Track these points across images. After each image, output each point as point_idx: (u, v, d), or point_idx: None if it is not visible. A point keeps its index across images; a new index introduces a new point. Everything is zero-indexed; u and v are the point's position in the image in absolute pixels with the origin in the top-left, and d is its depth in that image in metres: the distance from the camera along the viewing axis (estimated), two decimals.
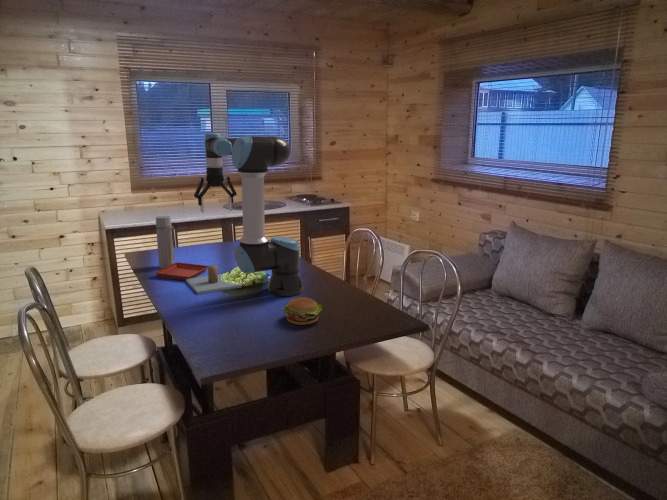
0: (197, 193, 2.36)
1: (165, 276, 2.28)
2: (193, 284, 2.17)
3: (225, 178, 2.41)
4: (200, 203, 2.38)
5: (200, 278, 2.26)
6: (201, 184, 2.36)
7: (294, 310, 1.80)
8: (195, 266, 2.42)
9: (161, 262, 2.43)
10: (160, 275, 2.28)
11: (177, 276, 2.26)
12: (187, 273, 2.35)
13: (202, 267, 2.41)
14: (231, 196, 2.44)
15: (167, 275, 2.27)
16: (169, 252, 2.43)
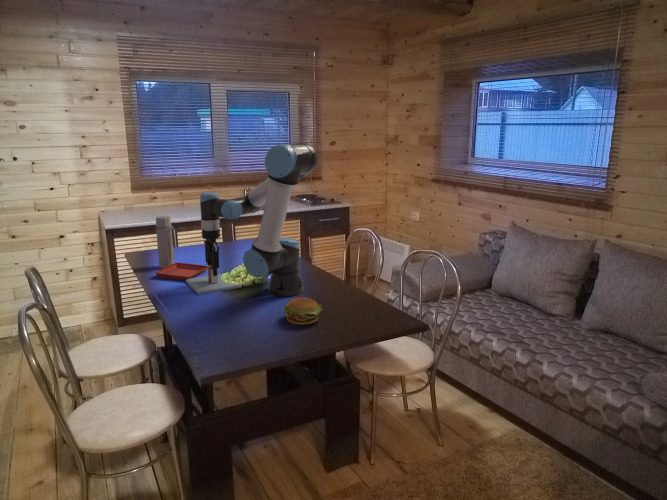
0: (206, 258, 2.22)
1: (165, 276, 2.28)
2: (193, 284, 2.17)
3: (213, 246, 2.13)
4: None
5: (200, 278, 2.26)
6: (205, 247, 2.21)
7: (294, 310, 1.80)
8: (195, 266, 2.42)
9: (161, 262, 2.43)
10: (160, 275, 2.28)
11: (177, 276, 2.25)
12: (187, 274, 2.35)
13: (202, 267, 2.41)
14: None
15: (167, 275, 2.27)
16: (169, 252, 2.43)
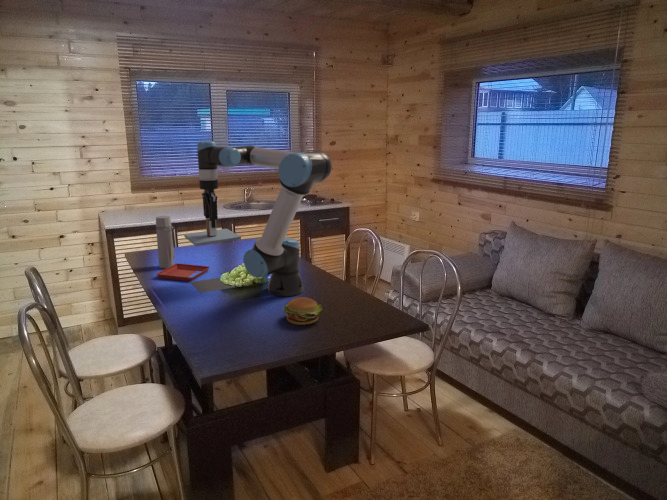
0: (204, 211, 2.17)
1: (167, 277, 2.27)
2: (191, 238, 2.12)
3: (211, 196, 2.07)
4: None
5: (199, 233, 2.21)
6: (203, 200, 2.16)
7: (294, 310, 1.80)
8: (196, 267, 2.41)
9: (161, 262, 2.43)
10: (162, 276, 2.27)
11: (179, 277, 2.25)
12: (189, 274, 2.34)
13: (203, 268, 2.40)
14: (209, 219, 2.11)
15: (169, 276, 2.26)
16: (169, 252, 2.43)
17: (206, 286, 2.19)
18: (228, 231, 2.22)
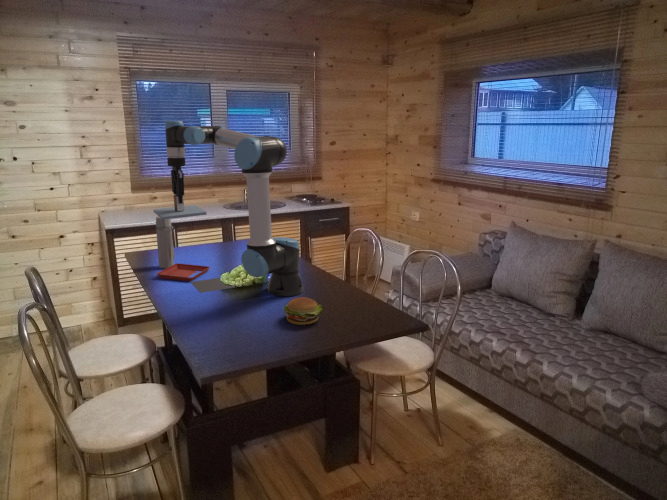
0: (172, 187, 2.28)
1: (167, 277, 2.27)
2: (159, 212, 2.23)
3: None
4: None
5: (168, 208, 2.32)
6: (171, 177, 2.27)
7: (294, 310, 1.80)
8: (196, 267, 2.41)
9: (161, 262, 2.43)
10: (162, 276, 2.27)
11: (179, 277, 2.25)
12: (189, 274, 2.34)
13: (203, 268, 2.40)
14: (177, 195, 2.22)
15: (169, 276, 2.26)
16: (169, 252, 2.43)
17: (206, 286, 2.19)
18: (196, 207, 2.34)
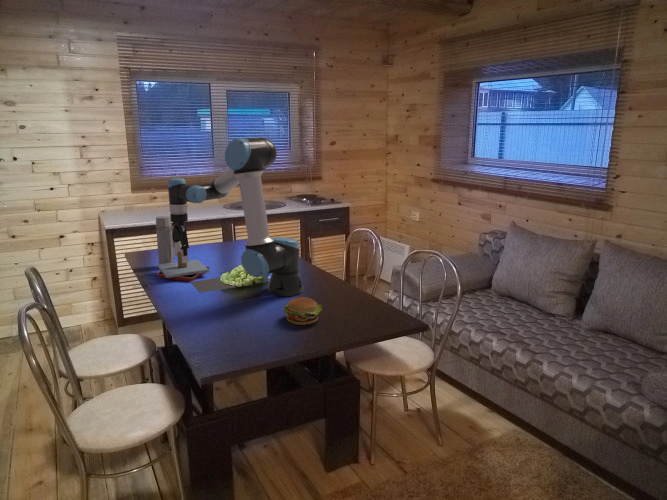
0: (173, 236, 2.37)
1: None
2: (163, 269, 2.30)
3: None
4: None
5: (171, 263, 2.39)
6: (173, 228, 2.35)
7: (294, 310, 1.80)
8: None
9: (161, 262, 2.43)
10: (162, 276, 2.27)
11: (179, 277, 2.25)
12: None
13: None
14: None
15: None
16: (169, 252, 2.43)
17: (206, 286, 2.19)
18: (198, 263, 2.41)
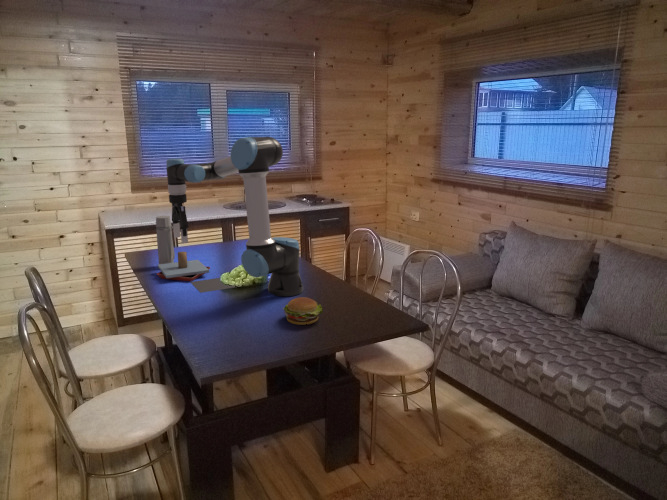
0: (172, 217, 2.35)
1: None
2: (163, 269, 2.30)
3: None
4: None
5: (172, 263, 2.39)
6: (172, 209, 2.32)
7: (294, 310, 1.80)
8: None
9: (161, 262, 2.43)
10: (162, 277, 2.27)
11: (180, 277, 2.25)
12: None
13: None
14: None
15: None
16: (169, 252, 2.43)
17: (206, 286, 2.19)
18: (198, 263, 2.41)
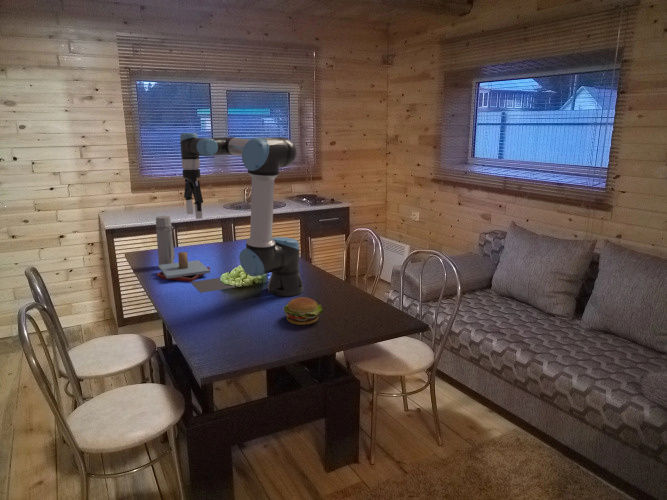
0: (184, 193, 2.32)
1: None
2: (164, 269, 2.30)
3: None
4: None
5: (172, 264, 2.39)
6: (185, 185, 2.30)
7: (294, 310, 1.80)
8: None
9: (161, 262, 2.43)
10: (162, 277, 2.27)
11: (180, 278, 2.25)
12: None
13: None
14: None
15: None
16: (169, 252, 2.43)
17: (206, 286, 2.19)
18: (199, 263, 2.40)
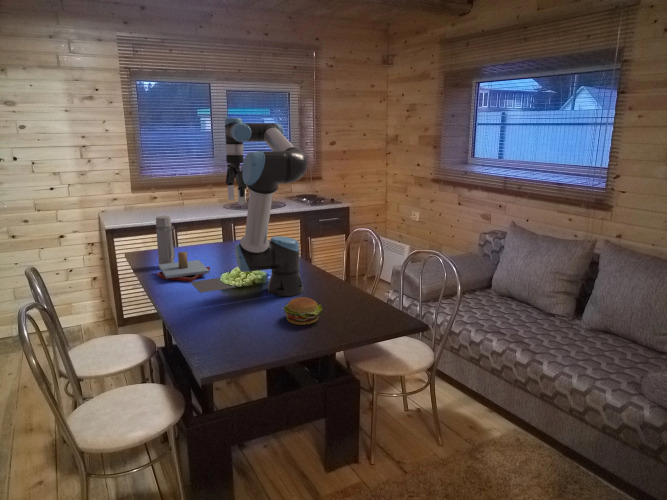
0: (226, 179, 2.32)
1: (167, 278, 2.27)
2: (164, 269, 2.30)
3: None
4: None
5: (172, 264, 2.38)
6: (227, 170, 2.29)
7: (294, 310, 1.80)
8: None
9: (161, 262, 2.43)
10: (162, 277, 2.27)
11: (180, 278, 2.25)
12: None
13: None
14: None
15: None
16: (169, 252, 2.43)
17: (206, 286, 2.19)
18: (199, 263, 2.40)
